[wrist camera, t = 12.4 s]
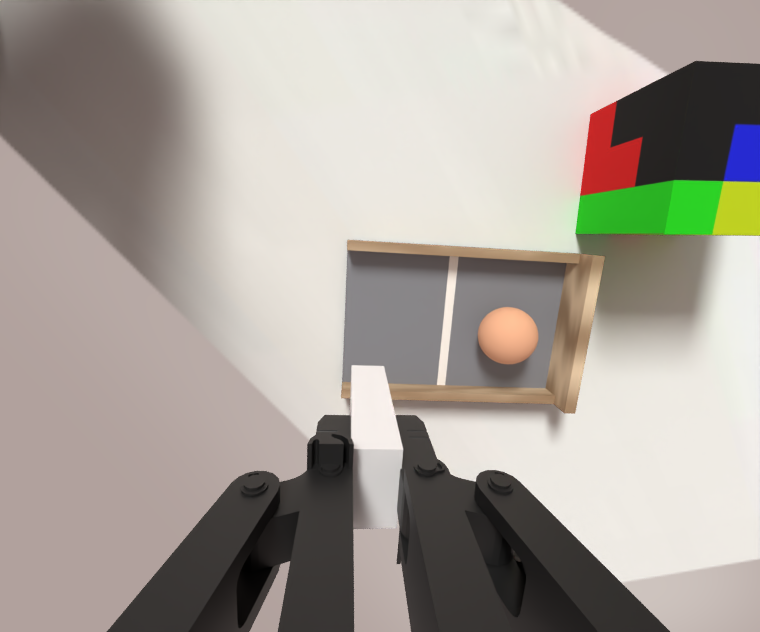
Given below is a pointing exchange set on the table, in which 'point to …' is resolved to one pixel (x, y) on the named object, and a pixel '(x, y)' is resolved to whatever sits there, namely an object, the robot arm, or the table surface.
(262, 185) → the table surface
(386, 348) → the tray
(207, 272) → the table surface
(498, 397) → the divided wooden tray
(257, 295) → the table surface
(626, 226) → the puzzle toy
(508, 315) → the ball
